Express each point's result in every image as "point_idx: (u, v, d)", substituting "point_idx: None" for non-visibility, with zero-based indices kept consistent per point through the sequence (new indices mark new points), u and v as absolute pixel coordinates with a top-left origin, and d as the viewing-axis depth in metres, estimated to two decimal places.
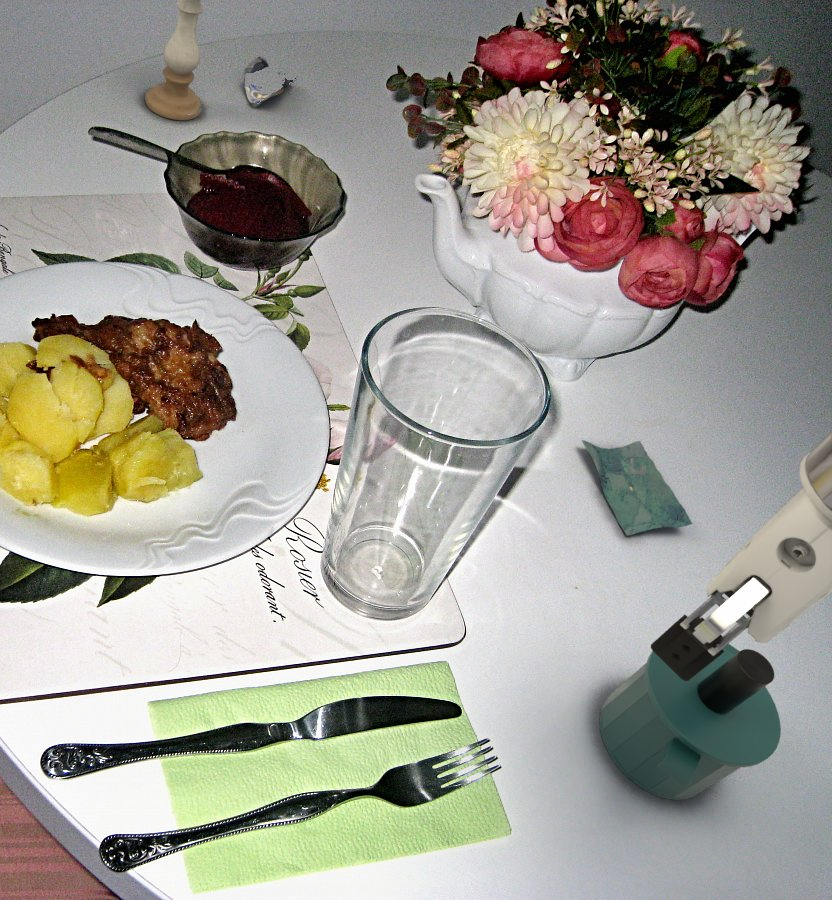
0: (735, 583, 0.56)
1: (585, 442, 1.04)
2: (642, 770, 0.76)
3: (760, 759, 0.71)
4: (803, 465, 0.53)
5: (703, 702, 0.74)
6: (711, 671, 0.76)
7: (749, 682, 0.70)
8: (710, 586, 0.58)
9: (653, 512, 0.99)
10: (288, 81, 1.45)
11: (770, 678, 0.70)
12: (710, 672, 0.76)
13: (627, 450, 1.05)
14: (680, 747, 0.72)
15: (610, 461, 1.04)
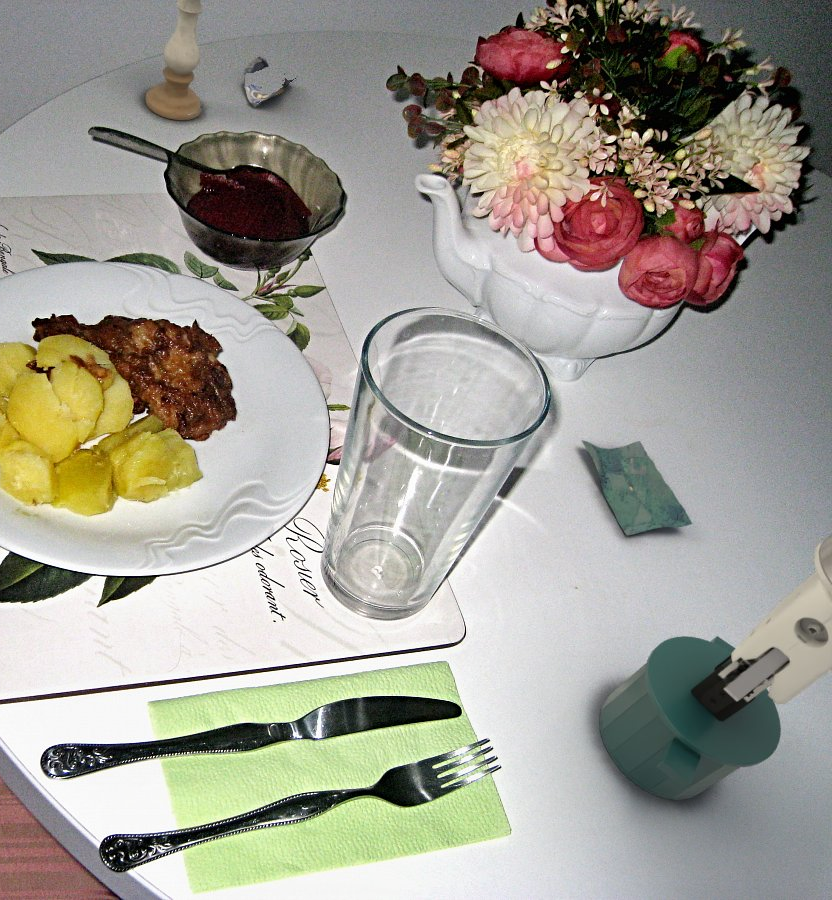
0: (757, 653, 0.64)
1: (585, 442, 1.04)
2: (642, 770, 0.76)
3: (760, 759, 0.71)
4: (817, 554, 0.62)
5: None
6: (711, 671, 0.76)
7: None
8: (735, 654, 0.66)
9: (653, 512, 0.99)
10: (288, 81, 1.45)
11: None
12: (710, 672, 0.76)
13: (627, 450, 1.05)
14: (680, 747, 0.72)
15: (610, 461, 1.04)
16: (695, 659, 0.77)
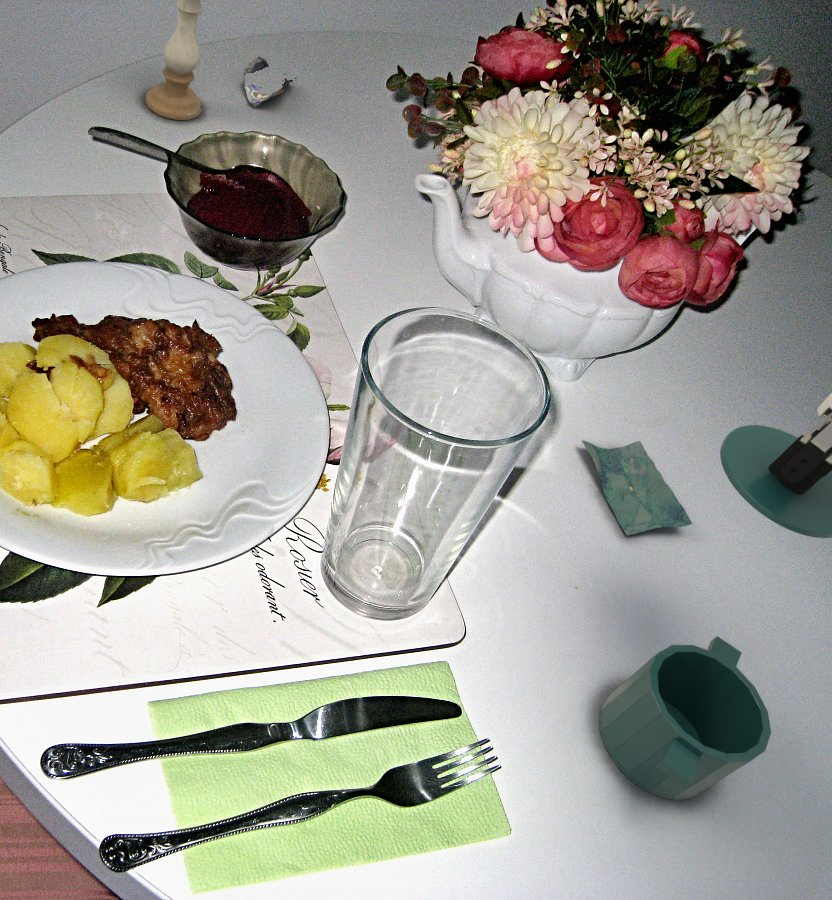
0: None
1: (585, 442, 1.04)
2: (642, 770, 0.76)
3: None
4: None
5: None
6: None
7: None
8: (822, 406, 0.65)
9: (653, 512, 0.99)
10: (288, 81, 1.45)
11: None
12: None
13: (627, 450, 1.05)
14: (680, 747, 0.72)
15: (610, 461, 1.04)
16: (769, 444, 0.76)
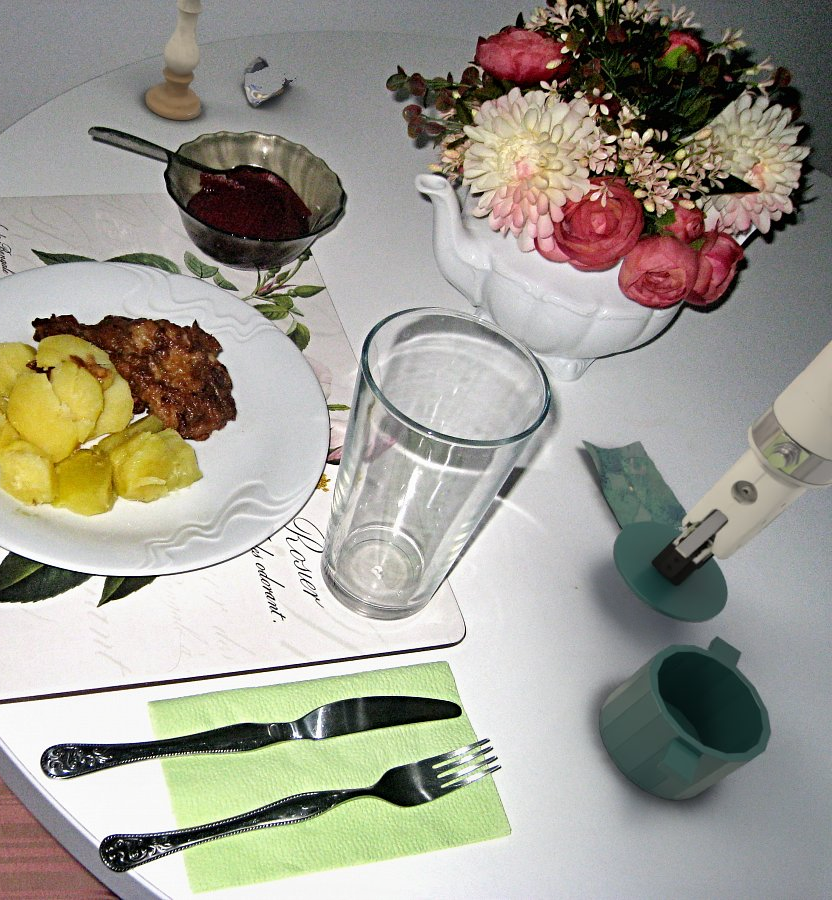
0: (702, 516, 0.77)
1: (585, 442, 1.04)
2: (642, 770, 0.76)
3: (709, 616, 0.84)
4: (750, 429, 0.75)
5: None
6: None
7: None
8: (685, 519, 0.79)
9: (653, 512, 0.99)
10: (288, 81, 1.45)
11: None
12: None
13: (627, 450, 1.05)
14: (680, 747, 0.72)
15: (610, 461, 1.04)
16: (656, 539, 0.90)
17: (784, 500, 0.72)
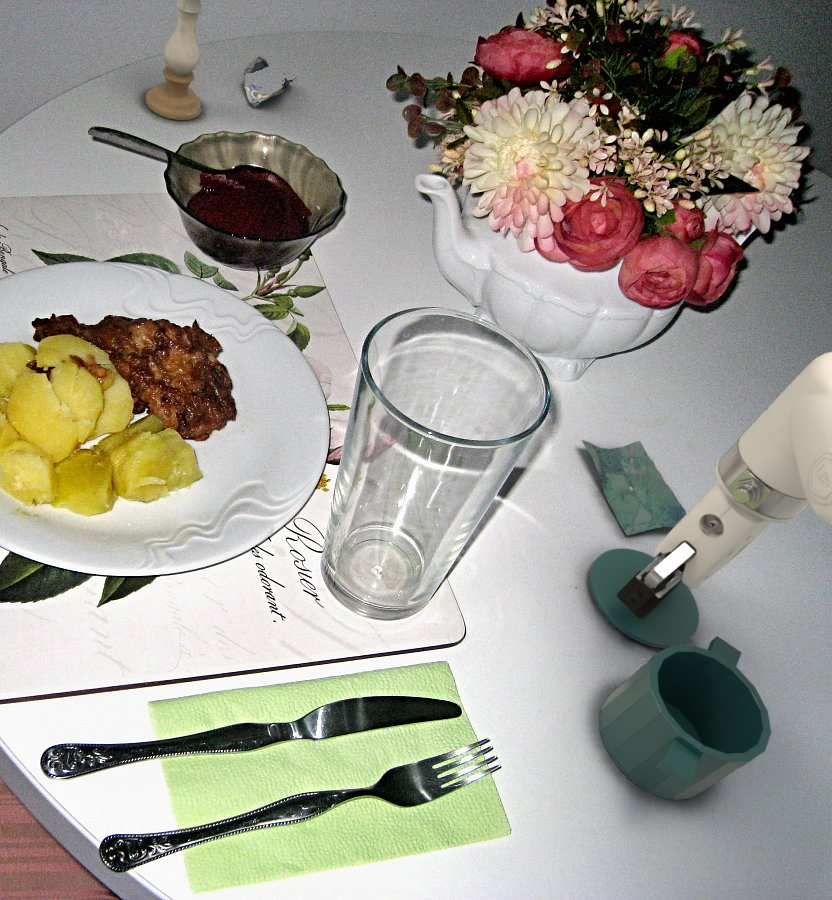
0: (672, 547, 0.81)
1: (585, 442, 1.04)
2: (642, 770, 0.76)
3: (680, 641, 0.88)
4: (717, 465, 0.78)
5: None
6: None
7: (670, 577, 0.86)
8: (656, 549, 0.82)
9: (653, 512, 0.99)
10: (288, 81, 1.45)
11: None
12: None
13: (627, 450, 1.05)
14: (680, 747, 0.72)
15: (610, 461, 1.04)
16: (631, 566, 0.93)
17: (749, 533, 0.76)
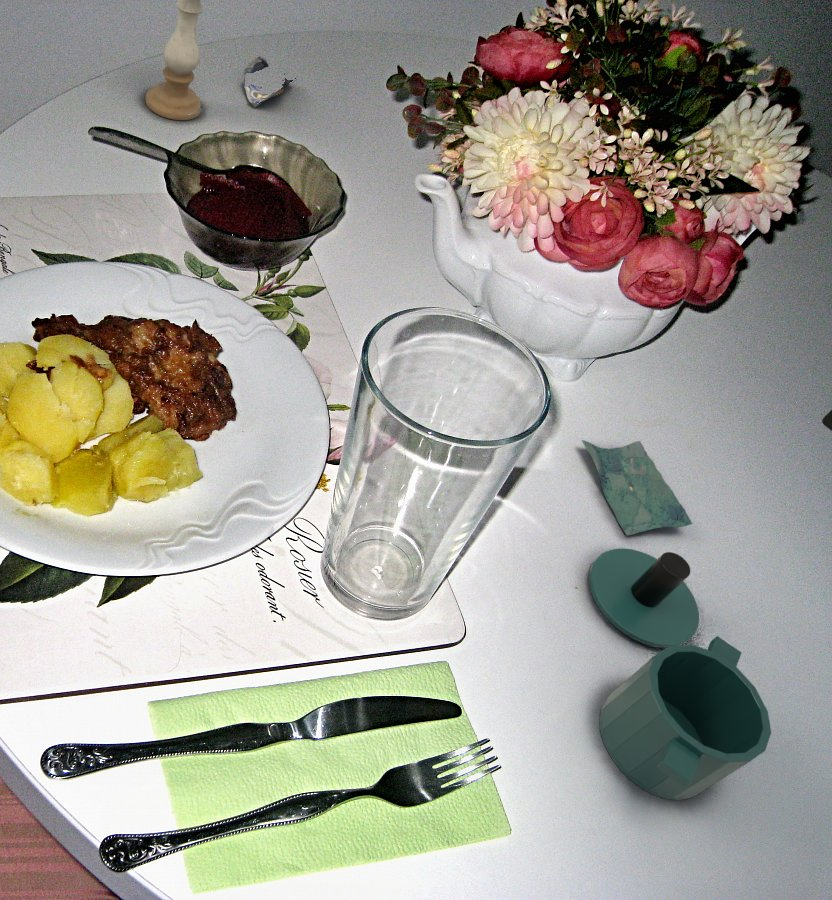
0: None
1: (585, 442, 1.04)
2: (642, 770, 0.76)
3: (680, 641, 0.88)
4: None
5: (635, 598, 0.90)
6: None
7: (670, 577, 0.86)
8: None
9: (653, 512, 0.99)
10: (288, 81, 1.45)
11: (686, 574, 0.86)
12: None
13: (627, 450, 1.05)
14: (680, 747, 0.72)
15: (610, 461, 1.04)
16: (631, 566, 0.93)
17: None
